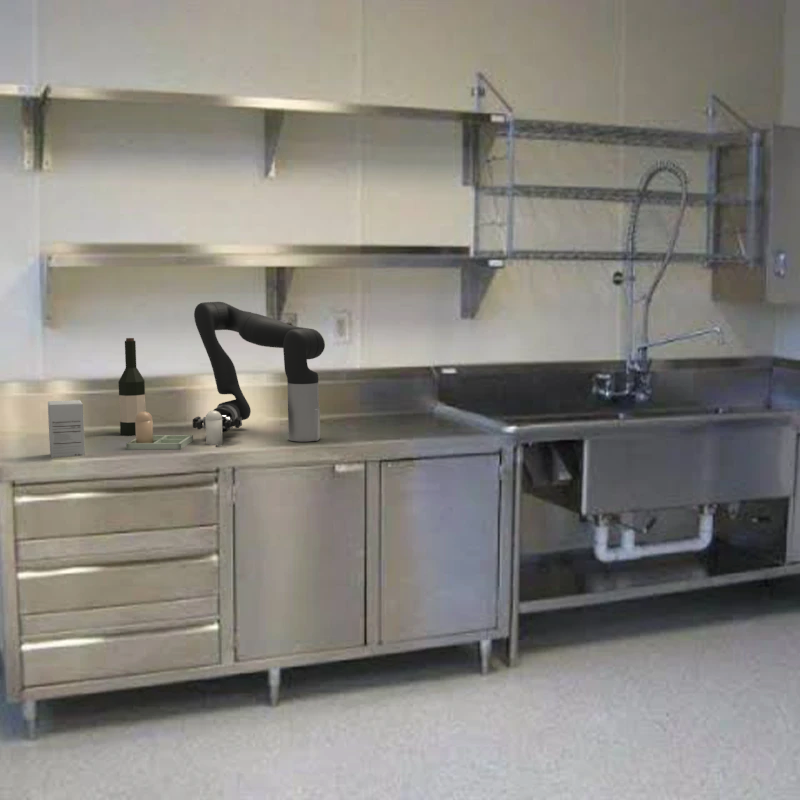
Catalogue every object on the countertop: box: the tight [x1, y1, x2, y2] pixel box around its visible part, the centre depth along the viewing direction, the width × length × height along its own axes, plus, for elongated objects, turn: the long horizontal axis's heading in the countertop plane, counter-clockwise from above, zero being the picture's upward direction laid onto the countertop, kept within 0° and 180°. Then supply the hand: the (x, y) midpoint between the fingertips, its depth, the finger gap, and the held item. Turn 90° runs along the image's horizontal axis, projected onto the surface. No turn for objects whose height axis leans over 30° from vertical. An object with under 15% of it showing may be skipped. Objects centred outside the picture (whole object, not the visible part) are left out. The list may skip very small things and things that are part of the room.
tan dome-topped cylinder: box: [135, 411, 154, 443], centre depth 297 cm, size 5×5×10 cm
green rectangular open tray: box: [125, 434, 194, 450], centre depth 301 cm, size 15×15×2 cm
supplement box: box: [47, 399, 86, 459], centre depth 286 cm, size 9×9×15 cm
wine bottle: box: [118, 337, 147, 437], centre depth 324 cm, size 8×8×30 cm
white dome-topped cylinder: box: [204, 409, 224, 447], centre depth 303 cm, size 5×5×10 cm
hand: (212, 425), depth 301 cm, fingers open, 7 cm apart
